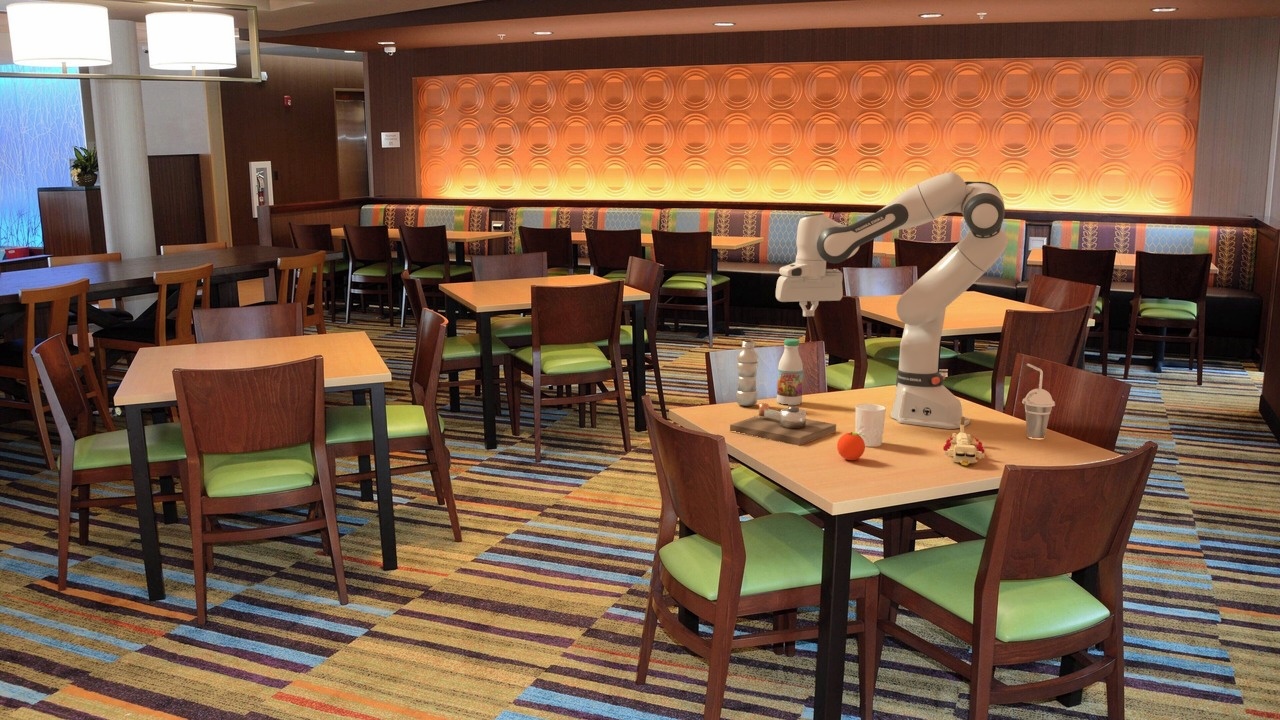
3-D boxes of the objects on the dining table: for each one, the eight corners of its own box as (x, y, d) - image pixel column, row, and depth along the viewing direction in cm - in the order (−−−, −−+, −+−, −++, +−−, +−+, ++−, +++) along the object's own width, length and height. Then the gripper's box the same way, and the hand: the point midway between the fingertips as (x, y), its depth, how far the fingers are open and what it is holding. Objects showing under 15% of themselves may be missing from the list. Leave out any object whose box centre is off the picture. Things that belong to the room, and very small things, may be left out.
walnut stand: (835, 431, 292) (836, 423, 292) (799, 445, 277) (799, 437, 277) (768, 418, 306) (768, 411, 305) (729, 431, 290) (730, 423, 290)
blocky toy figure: (941, 446, 283) (944, 464, 259) (943, 414, 282) (946, 429, 258) (979, 449, 281) (986, 467, 257) (982, 417, 280) (988, 432, 256)
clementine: (864, 456, 268) (866, 429, 266) (871, 463, 261) (873, 435, 260) (833, 455, 268) (835, 428, 266) (839, 463, 261) (840, 435, 259)
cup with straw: (1024, 441, 284) (1030, 369, 280) (1014, 433, 292) (1020, 363, 289) (1056, 442, 283) (1063, 370, 280) (1045, 434, 292) (1051, 363, 288)
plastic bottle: (758, 408, 319) (760, 343, 315) (736, 407, 319) (738, 343, 315) (756, 403, 325) (758, 339, 322) (734, 403, 325) (736, 339, 322)
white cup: (859, 448, 275) (861, 410, 273) (849, 440, 283) (851, 404, 281) (888, 447, 277) (890, 410, 275) (877, 439, 284) (879, 403, 282)
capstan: (810, 425, 289) (811, 408, 288) (794, 429, 284) (794, 411, 283) (768, 415, 301) (768, 397, 300) (751, 418, 296) (752, 401, 295)
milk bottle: (774, 400, 330) (776, 337, 326) (798, 400, 331) (800, 337, 327) (780, 406, 322) (782, 341, 319) (804, 405, 323) (807, 341, 319)
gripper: (837, 267, 312) (835, 313, 315) (774, 268, 306) (772, 315, 309) (847, 269, 306) (845, 316, 309) (783, 270, 300) (781, 318, 303)
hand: (808, 316), depth 309 cm, fingers closed
